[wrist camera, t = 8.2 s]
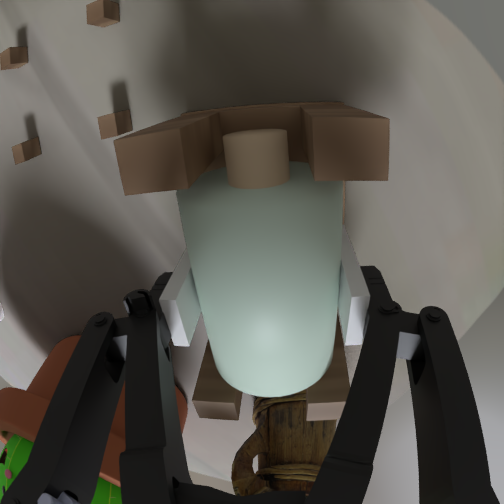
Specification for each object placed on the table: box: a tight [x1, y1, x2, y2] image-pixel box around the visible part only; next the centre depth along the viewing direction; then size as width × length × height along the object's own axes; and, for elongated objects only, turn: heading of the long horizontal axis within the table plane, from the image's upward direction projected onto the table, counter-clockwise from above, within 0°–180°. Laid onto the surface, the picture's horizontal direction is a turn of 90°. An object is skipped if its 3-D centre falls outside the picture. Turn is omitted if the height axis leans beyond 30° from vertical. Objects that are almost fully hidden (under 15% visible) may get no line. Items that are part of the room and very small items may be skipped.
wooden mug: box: [231, 389, 337, 497], centre depth 22 cm, size 9×14×18 cm, turn 52°
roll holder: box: [114, 102, 389, 421], centre depth 16 cm, size 16×9×9 cm, turn 5°
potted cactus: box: [0, 335, 188, 504], centre depth 21 cm, size 22×22×25 cm
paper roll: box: [176, 129, 343, 397], centre depth 15 cm, size 14×7×7 cm, turn 5°
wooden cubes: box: [0, 0, 133, 165], centre depth 15 cm, size 9×10×2 cm
